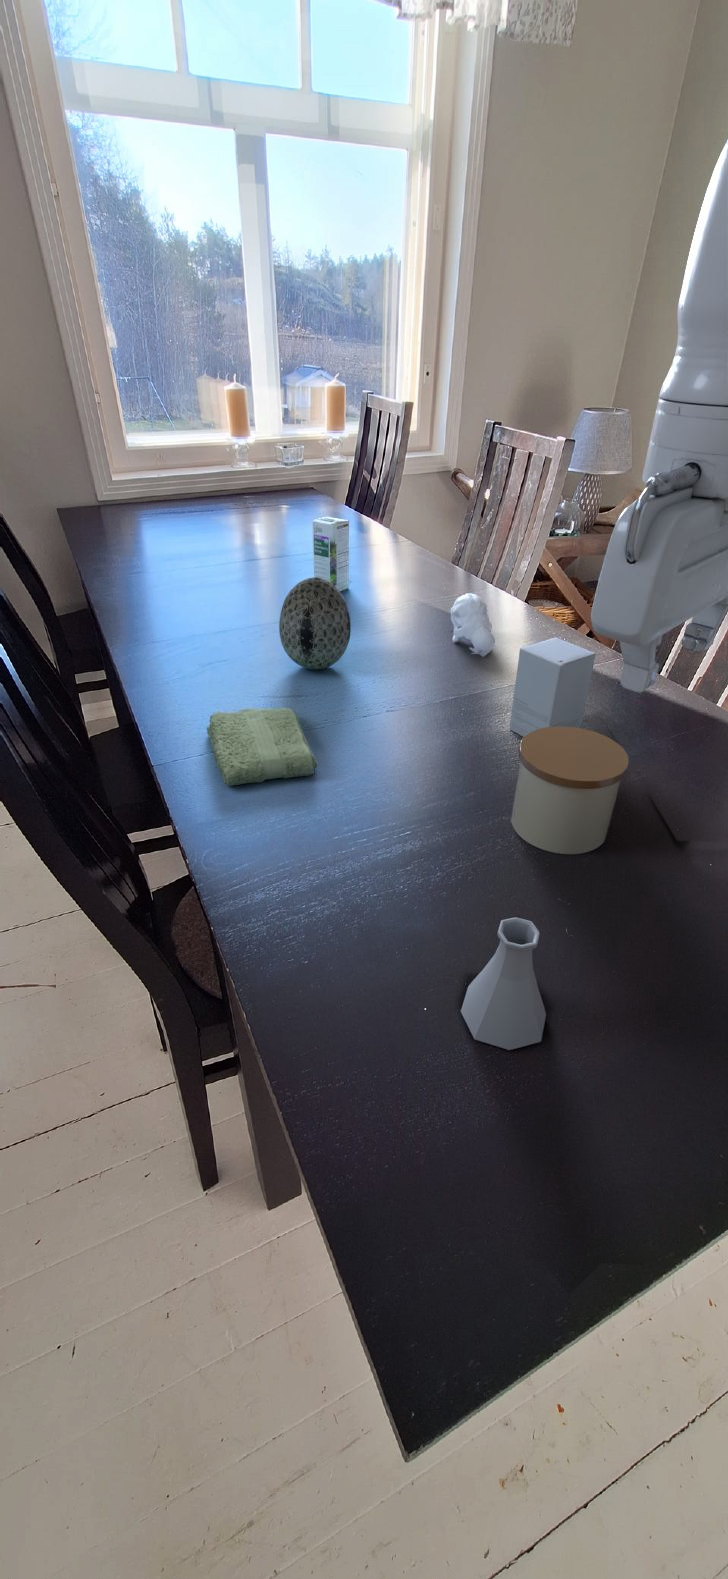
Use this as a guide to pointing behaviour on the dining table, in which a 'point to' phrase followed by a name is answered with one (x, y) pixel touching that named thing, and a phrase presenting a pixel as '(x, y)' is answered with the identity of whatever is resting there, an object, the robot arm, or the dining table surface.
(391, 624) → the dining table surface
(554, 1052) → the dining table surface
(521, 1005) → the flask
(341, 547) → the syrup box
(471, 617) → the white bust
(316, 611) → the decorative egg
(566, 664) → the white packaging box
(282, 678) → the dining table surface
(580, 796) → the canister
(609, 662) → the dining table surface
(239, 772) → the washcloth
